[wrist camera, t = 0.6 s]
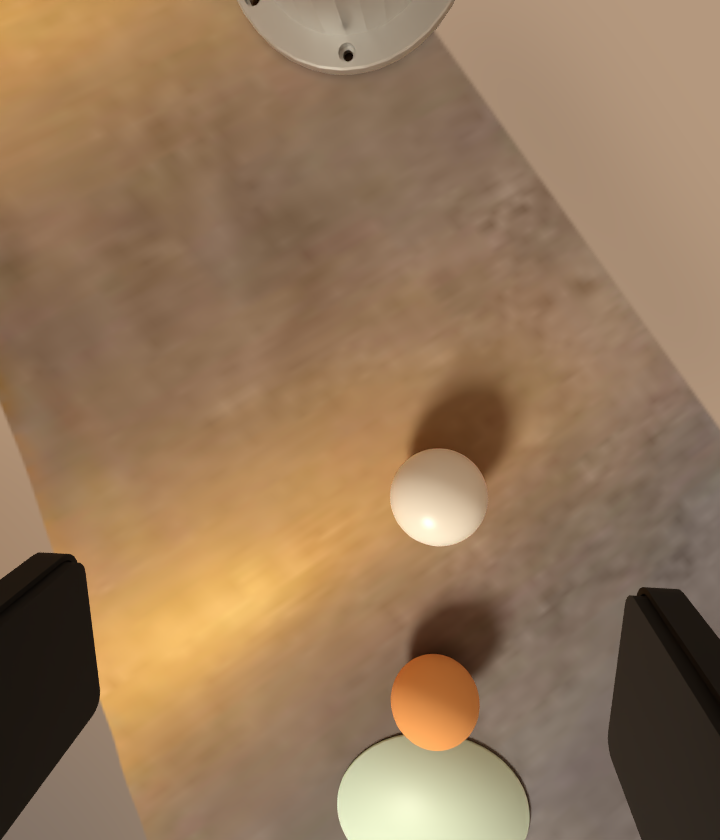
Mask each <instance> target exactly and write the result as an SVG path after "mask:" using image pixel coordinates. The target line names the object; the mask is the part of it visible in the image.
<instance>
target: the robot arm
mask: <svg viewBox="0 0 720 840" xmlns="http://www.w3.org/2000/svg"><path fill="white" fill-rule="evenodd" d="M237 1H238V3H239V5H240V7H241V9H242V11H243V13H244V14H245V16H246V17H247V19H248V20H249V21H250V23H251V24H252V26H253V27H254V28H255V30H256V31H257V32H258V33H259V34H260V35H261V36H262V37H263V38H264V39H265V40H266V42H267V43H268V44H269V45H270V46H271V47H272V48H274V49H275V50H277V51H278V52H279V53H281V54H282V55H283V56H285V57H286V58H287V59H289V60H290V61H292V62H295V63H297V64H299V65H301V66H303V67H306V68H308V69H310V70H314V71H318V72H323V73H327V74H332V75H356V74H360V73H365V72H370V71H375V70H378V69H381V68H383V67H385V66H387V65H390V64H392V63H394V62H396V61H399V60H400V59H402V58H403V57H405V56H406V55H407V54H409V53H410V52H412V51H413V50H415V49H416V48H417V47H419V46H420V45H421V44H422V43H423V42H424V41H425V40H426V39H427V38H428V37H429V36H430V35H431V34H432V33H433V32H434V31H435V30H436V29H437V27H438V26H439V24H440V23H441V21H442V20H443V19H444V17H445V16H446V14H447V13H448V11H449V10H450V8H451V7H452V5H453V3H454V1H455V0H260V1H259V3H258V4H257V5H255V6H253V5H252V3H253V1H254V0H237ZM347 53H352V54H353V59H352V60H351V61H349V62H347V61H345V60H344V57H345V55H346V54H347ZM99 698H100V686H99V678H98V670H97V662H96V654H95V646H94V638H93V630H92V621H91V613H90V605H89V597H88V589H87V581H86V573H85V568H84V566H83V565H82V564H81V563H77V560H76V559H75V557H74V556H73V555H71V554H58V553H37V554H35V555H33V556H32V557H30V558H29V559H28V560H26V561H25V562H24V563H22V564H21V565H19V566H18V567H17V568H15V569H14V570H13V571H11V572H10V573H9V574H7V575H6V576H5V577H3V578H2V579H1V580H0V840H1V839H2V838H3V836H4V835H5V834H6V832H7V831H8V829H9V828H10V827H11V825H12V824H13V823H14V821H15V820H16V819H17V817H18V816H19V815H20V813H21V812H22V811H23V809H24V808H25V806H26V805H27V804H28V802H29V801H30V800H31V798H32V797H33V796H34V794H35V793H36V792H37V790H38V789H39V787H40V786H41V784H42V783H43V782H44V781H45V779H46V778H47V777H48V775H49V774H50V773H51V771H52V770H53V768H54V767H55V766H56V764H57V763H58V762H59V760H60V759H61V758H62V756H63V755H64V753H65V752H66V751H67V750H68V748H69V747H70V746H71V744H72V743H73V741H74V740H75V739H76V737H77V736H78V735H79V733H80V732H81V731H82V729H83V728H84V726H85V725H86V724H87V722H88V721H89V720H90V718H91V717H92V716H93V714H94V712H95V711H96V708H97V706H98V702H99ZM608 745H609V751H610V756H611V759H612V762H613V765H614V767H615V770H616V773H617V775H618V778H619V781H620V783H621V786H622V789H623V791H624V794H625V797H626V799H627V802H628V805H629V807H630V810H631V813H632V815H633V818H634V821H635V823H636V826H637V829H638V831H639V834H640V837H641V839H642V840H720V639H719V638H718V637H717V635H716V634H715V633H714V631H713V630H712V629H711V628H710V626H709V625H708V624H707V623H706V621H705V620H704V619H703V617H702V616H701V615H700V614H699V612H698V611H697V610H696V609H695V607H694V606H693V605H692V603H691V602H690V601H689V600H688V598H687V597H686V596H685V594H684V593H683V592H682V591H681V590H679V589H665V588H647V587H642V588H640V589H639V591H638V593H637V596H630V595H629V596H628V597H627V599H626V603H625V609H624V617H623V624H622V632H621V639H620V647H619V654H618V662H617V669H616V677H615V685H614V692H613V700H612V707H611V715H610V722H609V730H608Z"/></svg>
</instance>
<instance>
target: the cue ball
mask: <svg viewBox="0 0 720 840" xmlns="http://www.w3.org/2000/svg"><path fill="white" fill-rule="evenodd" d="M390 502H391V508H392V511H393V514H394V517H395V519H396V521H397V523H398V524H399V525H400V527H401V528H402V529H403V530H404V531H405V532H406V533H407V534H408V535H409V536H410V537H412V538H413V539H415V540H417V541H419V542H421V543H424V544H427V545H432V546H448V545H452V544H456V543H458V542H461V541H463V540H465V539H466V538H468V537H469V536H470V535H472V534H473V533H474V532H475V531H476V529H477V528H478V527H479V526H480V524H481V522H482V521H483V519H484V516H485V514H486V510H487V506H488V491H487V485H486V482H485V480H484V478H483V475H482V473H481V472H480V470H479V469H478V467H477V466H476V465H475V464H474V463H473V462H472V461H471V460H470V459H468V458H467V457H466V456H464V455H462V454H460V453H458V452H456V451H453V450H449V449H442V448H434V449H427V450H424V451H421V452H419V453H416V454H414V455H413V456H411V457H410V458H409V459H407V460H406V461H405V462H404V463H403V464H402V465H401V466H400V468H399V469H398V471H397V472H396V474H395V476H394V479H393V482H392V485H391V490H390Z"/></svg>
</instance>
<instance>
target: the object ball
mask: <svg viewBox="0 0 720 840" xmlns="http://www.w3.org/2000/svg"><path fill="white" fill-rule="evenodd" d="M391 707H392V712H393V716H394V719H395V721H396V724H397V726H398V727H399V729H400V730H401V732H402V733H403V734H404V736H405V737H406V738H407V739H409V740H410V741H411V742H412V743H414V744H415V745H417V746H419V747H421V748H424V749H426V750H431V751H444V750H448V749H451V748H454V747H456V746H458V745H459V744H461V743H462V742H463V741H464V740H466V739H467V738H468V736H469V735H470V734H471V732H472V731H473V729H474V727H475V725H476V722H477V719H478V715H479V695H478V691H477V687H476V685H475V682H474V680H473V679H472V677H471V675H470V674H469V673H468V671H467V670H466V669H465V668H464V667H463V666H462V665H461V664H460V663H458V662H457V661H455V660H454V659H452V658H450V657H447V656H444V655H440V654H426V655H422V656H419V657H416V658H414V659H413V660H411V661H410V662H408V663H407V664H406V665H405V666H404V667H403V668H402V669H401V670H400V672H399V673H398V675H397V677H396V679H395V681H394V684H393V688H392V693H391Z"/></svg>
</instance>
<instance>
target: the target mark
mask: <svg viewBox="0 0 720 840" xmlns="http://www.w3.org/2000/svg"><path fill="white" fill-rule="evenodd" d="M337 809H338V817H339V820H340V824H341V827H342V829H343V831H344V833H345V835H346V837H347V839H348V840H525V839H526V836H527V833H528V828H529V822H530V815H529V806H528V801H527V797H526V794H525V791H524V788H523V787H522V785H521V783H520V781H519V779H518V778H517V776H516V775H515V774H514V772H513V771H512V770H511V768H510V767H509V766H508V765H507V764H506V763H505V762H504V761H503V760H501V759H500V758H499V757H498V756H496V755H495V754H494V753H492V752H491V751H489V750H488V749H486V748H484V747H483V746H480V745H478V744H476V743H474V742H472V741H469V740H467V739H466V740H464V741H463V742H462V743H461V744H459V745H458V746H456V747H454V748H451V749H448V750H444V751H431V750H426V749H424V748H421V747H419V746H417V745H415V744H414V743H412V742H411V741H410V740H409V739H407V738H406V737H405V736H404V734H403V735H398V736H394V737H391V738H388V739H385V740H383V741H381V742H379V743H377V744H374V745H373V746H371V747H370V748H368V749H367V750H365V751H364V752H362V753H361V754H360V755H359V756H358V757H357V758H356V759H355V760H354V761H353V762H352V764H351V765H350V766H349V767H348V769H347V771H346V772H345V774H344V776H343V778H342V781H341V783H340V787H339V792H338V799H337Z"/></svg>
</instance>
